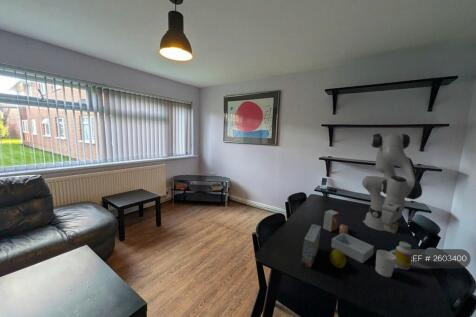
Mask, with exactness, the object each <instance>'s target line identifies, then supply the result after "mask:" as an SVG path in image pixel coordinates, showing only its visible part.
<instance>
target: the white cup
mask: <svg viewBox="0 0 476 317" xmlns="http://www.w3.org/2000/svg"><path fill="white" fill-rule="evenodd" d="M395 262H396V256H395V254H393V253H392V252H389V251H387V250H385V249H378V250H376V256H375V269H374V270H375V272H376V273H377V274H379V275H381V276H382V277H386V278H391V277H392V276H393V272H394V269H395V266H396V265H395Z"/></svg>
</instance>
